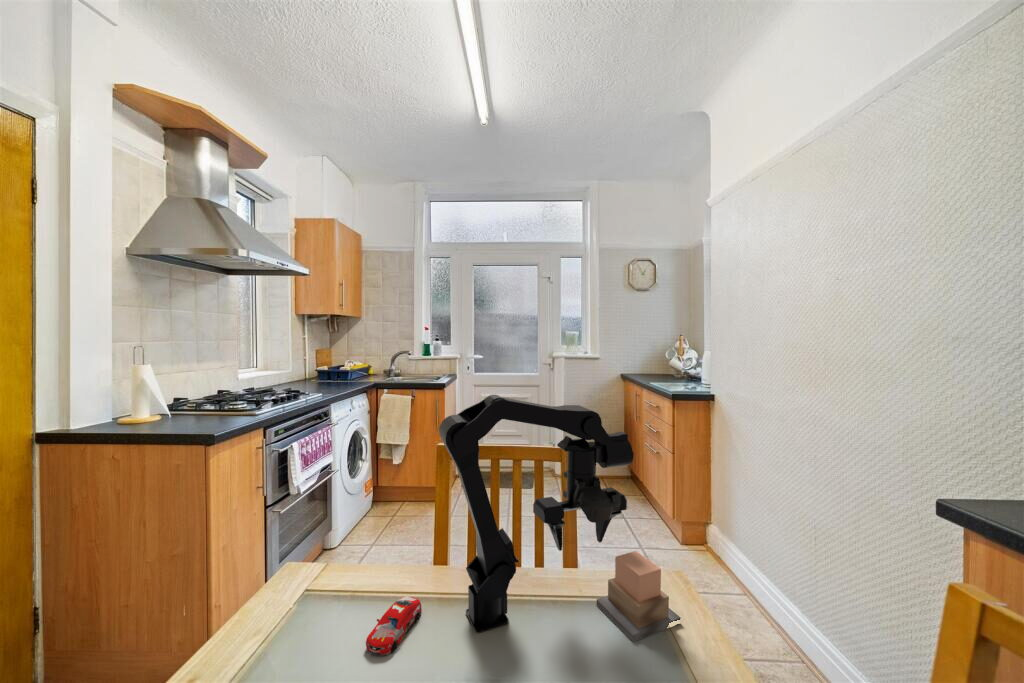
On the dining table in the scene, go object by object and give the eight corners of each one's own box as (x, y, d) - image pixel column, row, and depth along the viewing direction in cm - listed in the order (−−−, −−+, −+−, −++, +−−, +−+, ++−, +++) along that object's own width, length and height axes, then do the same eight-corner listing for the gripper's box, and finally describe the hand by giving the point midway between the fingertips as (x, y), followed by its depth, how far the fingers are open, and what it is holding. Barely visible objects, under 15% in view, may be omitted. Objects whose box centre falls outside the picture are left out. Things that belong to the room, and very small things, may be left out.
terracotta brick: (639, 602, 83) (639, 575, 82) (615, 581, 89) (615, 556, 89) (660, 594, 85) (660, 568, 84) (635, 575, 91) (635, 550, 91)
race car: (386, 663, 76) (386, 640, 76) (359, 655, 78) (358, 633, 78) (426, 613, 89) (426, 593, 88) (402, 607, 90) (402, 587, 90)
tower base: (632, 641, 80) (632, 613, 80) (596, 605, 90) (596, 579, 90) (680, 623, 85) (681, 596, 84) (641, 590, 95) (641, 566, 94)
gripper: (559, 490, 80) (557, 576, 81) (645, 477, 87) (643, 556, 88) (532, 470, 91) (531, 546, 92) (611, 460, 98) (610, 531, 99)
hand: (579, 545), depth 92 cm, fingers open, 9 cm apart
